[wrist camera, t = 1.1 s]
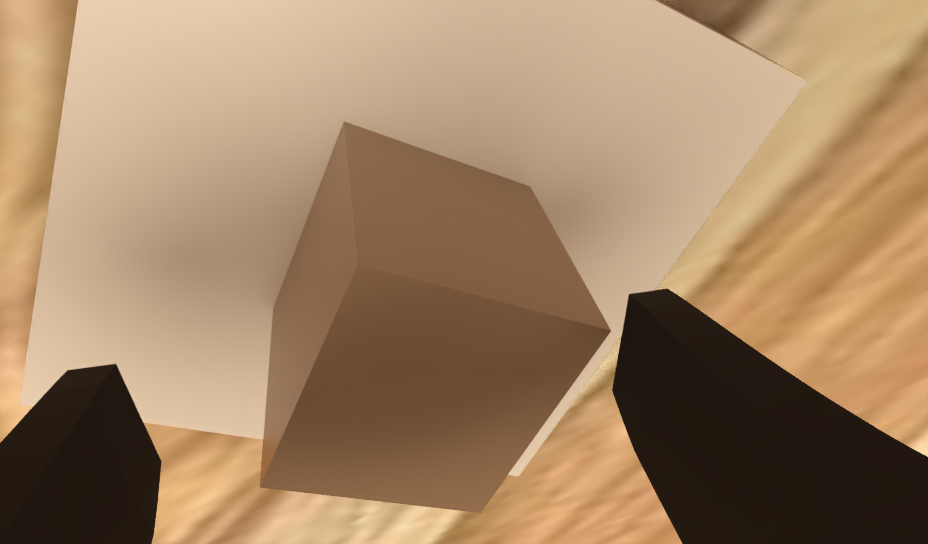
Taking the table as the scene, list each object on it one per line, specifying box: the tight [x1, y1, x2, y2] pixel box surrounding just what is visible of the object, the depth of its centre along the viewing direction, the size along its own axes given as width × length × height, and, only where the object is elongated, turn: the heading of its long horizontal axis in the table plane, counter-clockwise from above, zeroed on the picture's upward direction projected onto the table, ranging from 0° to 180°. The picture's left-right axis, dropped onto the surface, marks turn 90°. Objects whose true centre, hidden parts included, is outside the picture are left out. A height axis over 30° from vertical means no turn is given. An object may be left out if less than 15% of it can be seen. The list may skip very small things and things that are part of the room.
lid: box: [20, 0, 808, 513], centre depth 13 cm, size 14×14×6 cm
